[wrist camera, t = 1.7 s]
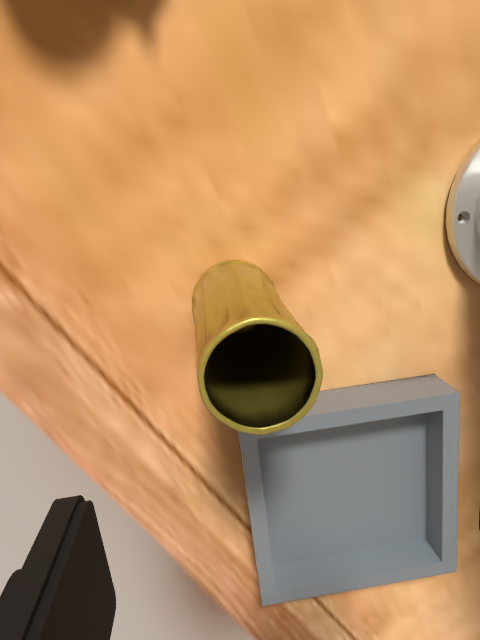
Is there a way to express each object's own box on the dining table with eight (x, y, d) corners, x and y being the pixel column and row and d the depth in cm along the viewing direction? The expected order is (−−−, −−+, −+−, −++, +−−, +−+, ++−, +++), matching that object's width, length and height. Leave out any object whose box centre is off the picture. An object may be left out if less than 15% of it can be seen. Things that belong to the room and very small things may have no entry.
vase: (260, 351, 33) (305, 459, 19) (181, 329, 32) (168, 426, 18) (287, 274, 31) (356, 330, 18) (205, 248, 30) (210, 287, 17)
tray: (434, 373, 35) (459, 392, 31) (434, 539, 39) (456, 571, 35) (234, 404, 34) (238, 426, 30) (256, 570, 38) (262, 606, 35)
